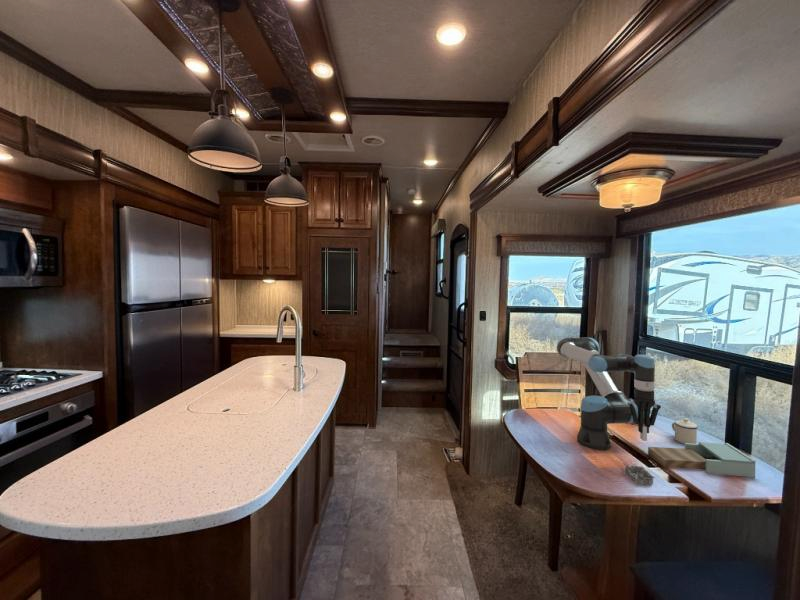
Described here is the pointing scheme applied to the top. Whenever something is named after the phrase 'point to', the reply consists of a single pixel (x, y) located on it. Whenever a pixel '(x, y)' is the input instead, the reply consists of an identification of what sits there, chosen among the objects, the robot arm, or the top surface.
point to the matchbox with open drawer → (724, 459)
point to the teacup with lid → (685, 431)
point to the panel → (677, 458)
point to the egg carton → (639, 475)
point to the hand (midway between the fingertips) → (643, 439)
